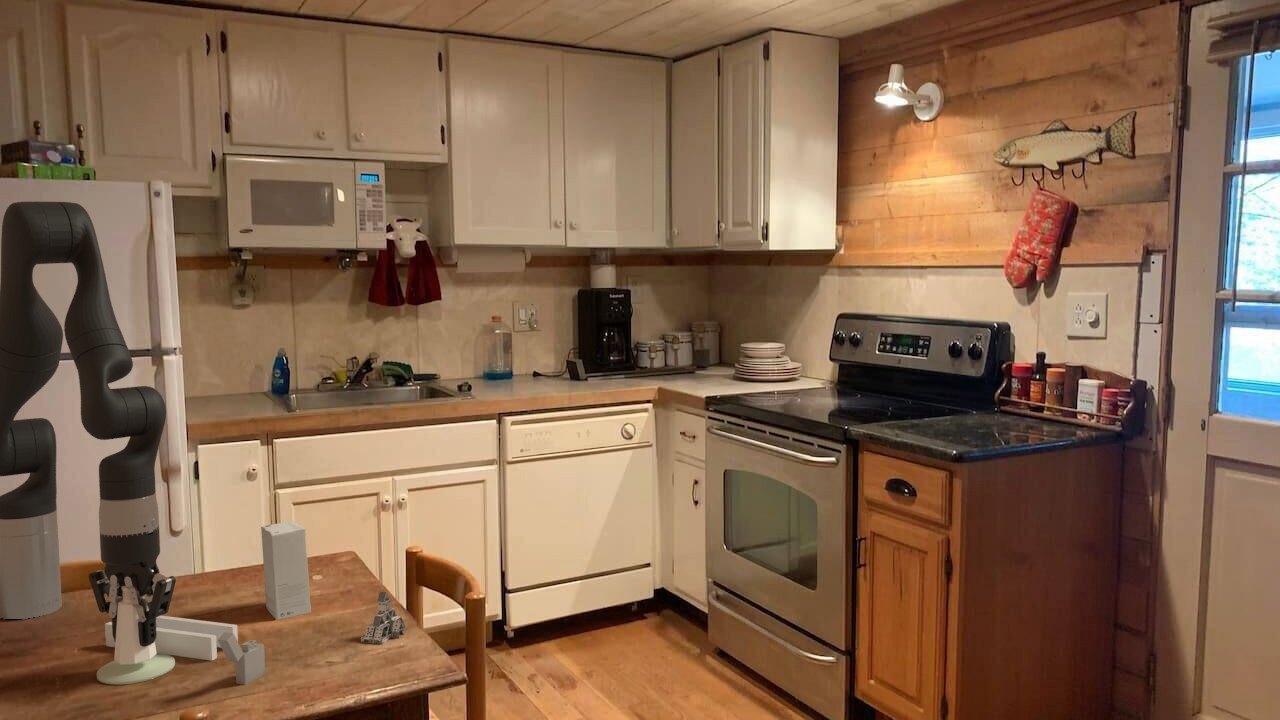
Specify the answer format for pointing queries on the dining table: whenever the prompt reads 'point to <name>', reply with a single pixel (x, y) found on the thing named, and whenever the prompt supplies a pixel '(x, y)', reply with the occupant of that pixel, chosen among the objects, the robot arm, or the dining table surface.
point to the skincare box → (285, 570)
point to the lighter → (244, 657)
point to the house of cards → (384, 622)
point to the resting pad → (135, 670)
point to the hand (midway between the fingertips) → (134, 642)
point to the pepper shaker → (130, 634)
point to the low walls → (185, 637)
